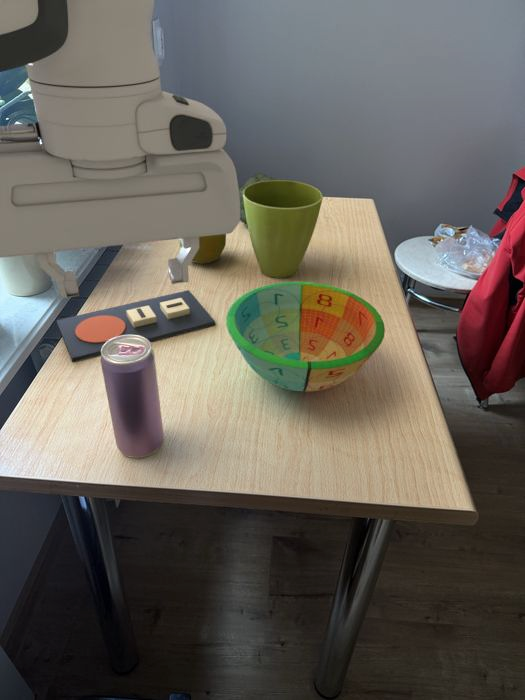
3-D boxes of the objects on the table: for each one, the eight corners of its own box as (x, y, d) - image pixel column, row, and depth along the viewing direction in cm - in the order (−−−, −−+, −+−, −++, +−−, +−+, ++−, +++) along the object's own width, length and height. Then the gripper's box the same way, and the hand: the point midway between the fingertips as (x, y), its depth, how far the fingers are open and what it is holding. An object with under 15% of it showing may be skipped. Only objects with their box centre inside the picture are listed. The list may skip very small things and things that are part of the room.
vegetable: (284, 200, 135) (304, 192, 120) (256, 241, 134) (273, 239, 120) (246, 170, 131) (261, 158, 117) (217, 213, 131) (229, 206, 116)
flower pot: (323, 286, 103) (331, 206, 94) (247, 290, 101) (248, 209, 92) (306, 252, 115) (312, 179, 106) (238, 255, 113) (238, 180, 104)
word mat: (72, 362, 81) (69, 351, 80) (56, 324, 90) (54, 313, 89) (215, 325, 91) (215, 314, 90) (189, 293, 99) (188, 283, 98)
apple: (189, 246, 116) (187, 197, 109) (232, 252, 114) (232, 203, 108) (172, 266, 108) (168, 215, 102) (217, 273, 106) (216, 221, 100)
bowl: (243, 325, 91) (243, 273, 85) (374, 341, 88) (384, 289, 82) (210, 413, 73) (208, 354, 67) (374, 436, 70) (386, 377, 64)
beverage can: (159, 461, 66) (147, 365, 57) (111, 459, 66) (92, 363, 57) (167, 427, 71) (157, 334, 62) (122, 425, 71) (106, 332, 62)
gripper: (-64, 139, 33) (-5, 323, 42) (247, 124, 39) (245, 289, 47) (-50, 116, 38) (1, 285, 46) (225, 105, 44) (227, 258, 52)
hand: (125, 287), depth 47 cm, fingers open, 8 cm apart
